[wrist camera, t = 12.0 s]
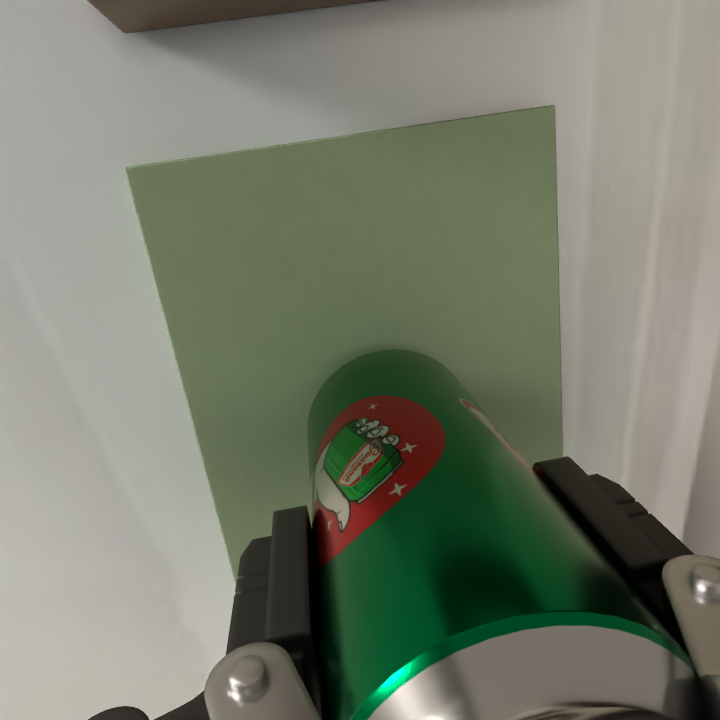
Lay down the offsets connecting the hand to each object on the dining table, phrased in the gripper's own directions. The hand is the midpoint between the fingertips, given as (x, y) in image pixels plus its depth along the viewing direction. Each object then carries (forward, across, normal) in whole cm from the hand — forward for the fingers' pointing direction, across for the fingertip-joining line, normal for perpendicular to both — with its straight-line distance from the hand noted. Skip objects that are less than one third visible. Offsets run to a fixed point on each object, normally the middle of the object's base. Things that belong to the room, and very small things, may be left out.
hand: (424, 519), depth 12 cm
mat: (+6, 0, 0) cm, 6 cm away
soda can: (+6, 0, 0) cm, 6 cm away
